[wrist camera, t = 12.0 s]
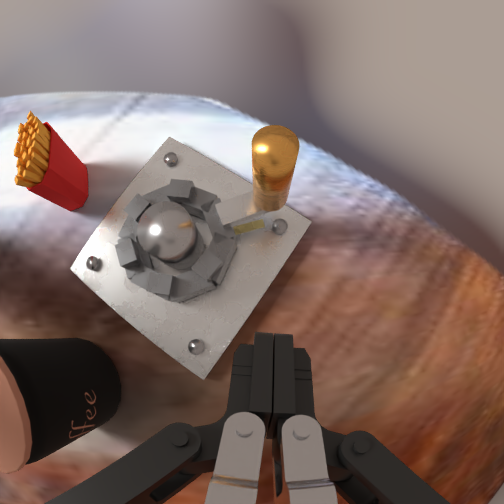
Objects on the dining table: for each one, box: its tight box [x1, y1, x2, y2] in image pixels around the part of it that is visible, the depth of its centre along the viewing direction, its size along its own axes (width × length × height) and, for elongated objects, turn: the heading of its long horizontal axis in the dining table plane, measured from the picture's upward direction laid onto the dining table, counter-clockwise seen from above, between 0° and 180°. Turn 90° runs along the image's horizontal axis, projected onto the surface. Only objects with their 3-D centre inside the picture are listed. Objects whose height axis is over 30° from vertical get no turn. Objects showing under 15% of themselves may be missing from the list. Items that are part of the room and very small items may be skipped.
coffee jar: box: [0, 338, 121, 474], centre depth 22 cm, size 11×11×18 cm
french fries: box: [14, 111, 88, 211], centre depth 30 cm, size 9×4×13 cm, turn 16°
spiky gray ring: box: [115, 125, 299, 303], centre depth 26 cm, size 17×11×13 cm, turn 112°
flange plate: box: [70, 137, 311, 380], centre depth 30 cm, size 20×20×8 cm
